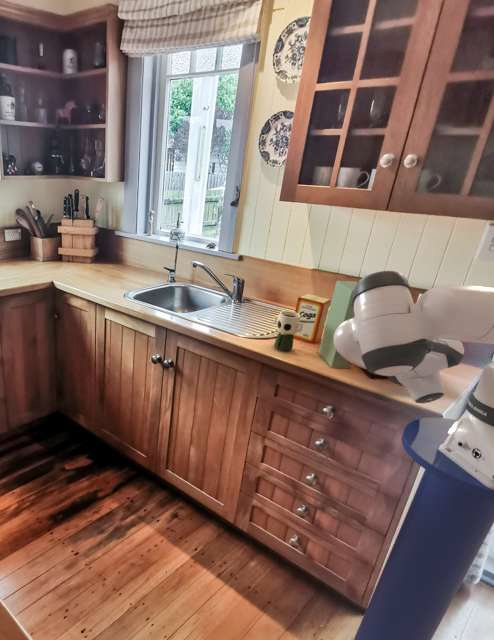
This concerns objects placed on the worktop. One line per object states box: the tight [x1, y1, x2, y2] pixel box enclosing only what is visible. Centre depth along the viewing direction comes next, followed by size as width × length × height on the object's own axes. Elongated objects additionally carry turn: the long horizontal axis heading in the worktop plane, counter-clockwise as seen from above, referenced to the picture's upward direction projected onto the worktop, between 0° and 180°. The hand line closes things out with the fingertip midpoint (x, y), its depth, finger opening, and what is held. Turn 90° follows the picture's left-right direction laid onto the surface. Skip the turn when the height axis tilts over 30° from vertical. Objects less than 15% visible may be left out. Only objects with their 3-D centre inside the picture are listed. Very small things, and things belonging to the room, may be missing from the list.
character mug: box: [273, 310, 303, 352], centre depth 163 cm, size 11×7×13 cm, turn 40°
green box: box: [318, 280, 358, 369], centre depth 153 cm, size 12×6×26 cm, turn 178°
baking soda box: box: [293, 293, 332, 345], centre depth 173 cm, size 10×6×16 cm
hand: (398, 317), depth 144 cm, fingers closed on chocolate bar, 3 cm apart
